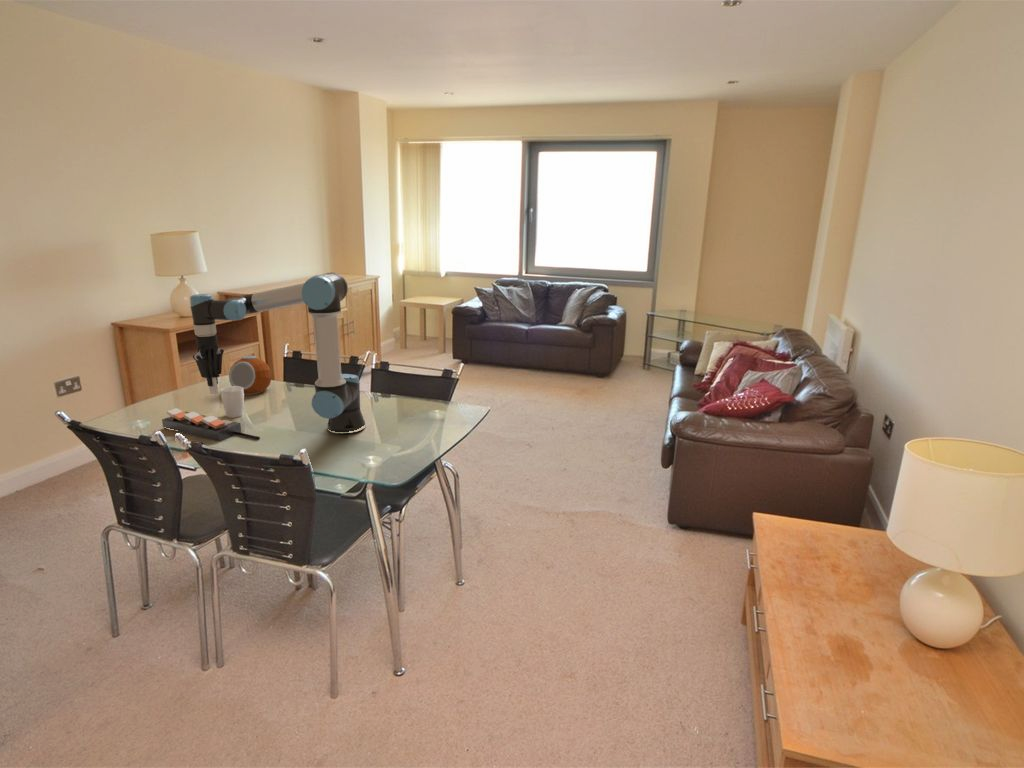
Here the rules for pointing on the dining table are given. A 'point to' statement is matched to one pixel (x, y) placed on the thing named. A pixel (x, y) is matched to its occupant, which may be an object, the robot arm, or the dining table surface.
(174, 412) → the rocker
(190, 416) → the rocker
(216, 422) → the rocker
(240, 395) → the cup
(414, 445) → the dining table surface
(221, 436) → the power strip
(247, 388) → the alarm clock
